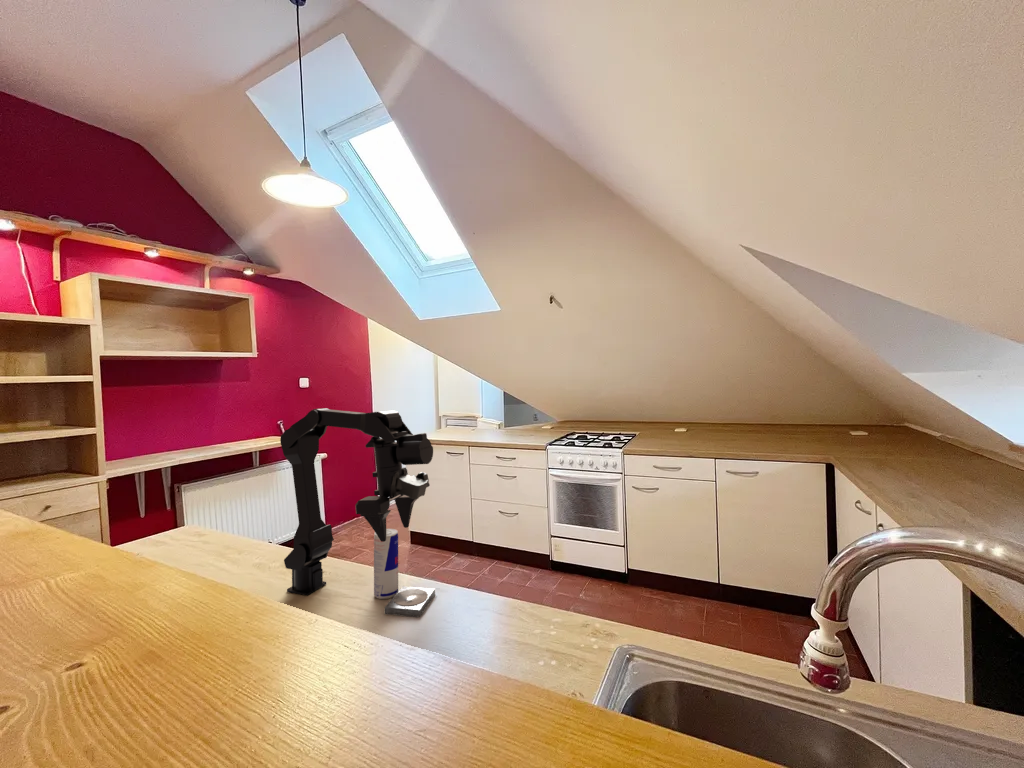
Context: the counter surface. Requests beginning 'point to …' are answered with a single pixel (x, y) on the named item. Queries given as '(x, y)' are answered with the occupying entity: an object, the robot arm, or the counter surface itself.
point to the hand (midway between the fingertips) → (395, 534)
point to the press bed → (410, 601)
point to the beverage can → (386, 565)
